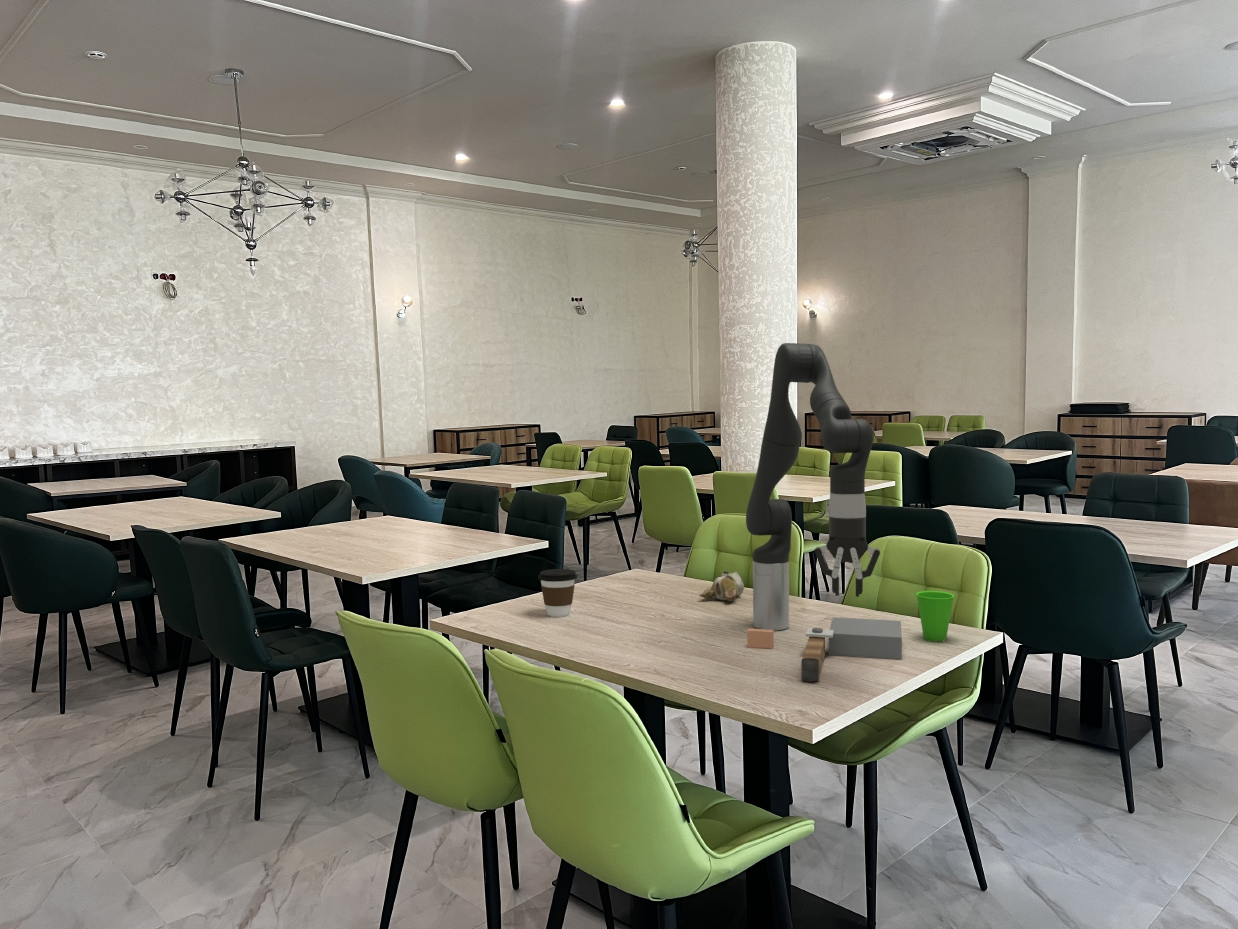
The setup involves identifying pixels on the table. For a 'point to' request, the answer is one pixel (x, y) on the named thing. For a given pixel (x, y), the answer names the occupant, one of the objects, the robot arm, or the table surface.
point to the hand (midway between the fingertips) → (847, 595)
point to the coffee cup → (558, 591)
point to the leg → (813, 659)
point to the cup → (935, 613)
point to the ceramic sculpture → (725, 587)
